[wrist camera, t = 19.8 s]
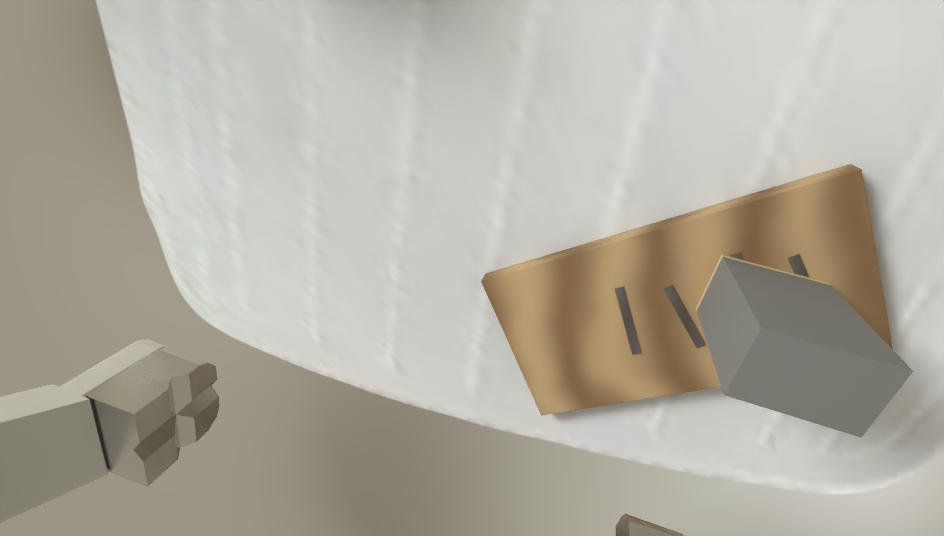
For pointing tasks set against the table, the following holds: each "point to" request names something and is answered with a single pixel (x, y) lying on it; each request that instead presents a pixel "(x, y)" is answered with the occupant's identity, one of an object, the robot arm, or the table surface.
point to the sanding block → (796, 347)
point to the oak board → (675, 290)
